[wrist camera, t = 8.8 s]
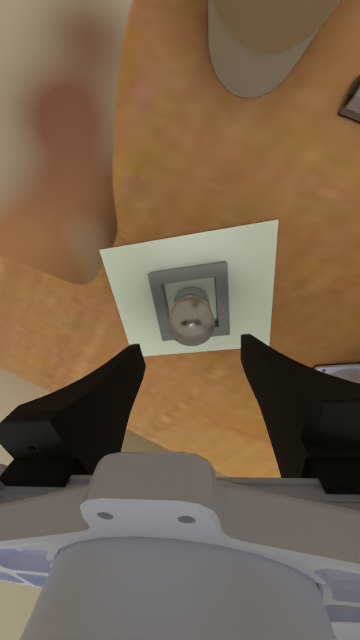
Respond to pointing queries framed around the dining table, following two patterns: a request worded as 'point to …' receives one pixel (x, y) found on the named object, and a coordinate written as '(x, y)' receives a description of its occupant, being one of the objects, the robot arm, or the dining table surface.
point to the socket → (201, 271)
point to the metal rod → (353, 102)
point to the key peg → (191, 317)
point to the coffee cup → (261, 40)
